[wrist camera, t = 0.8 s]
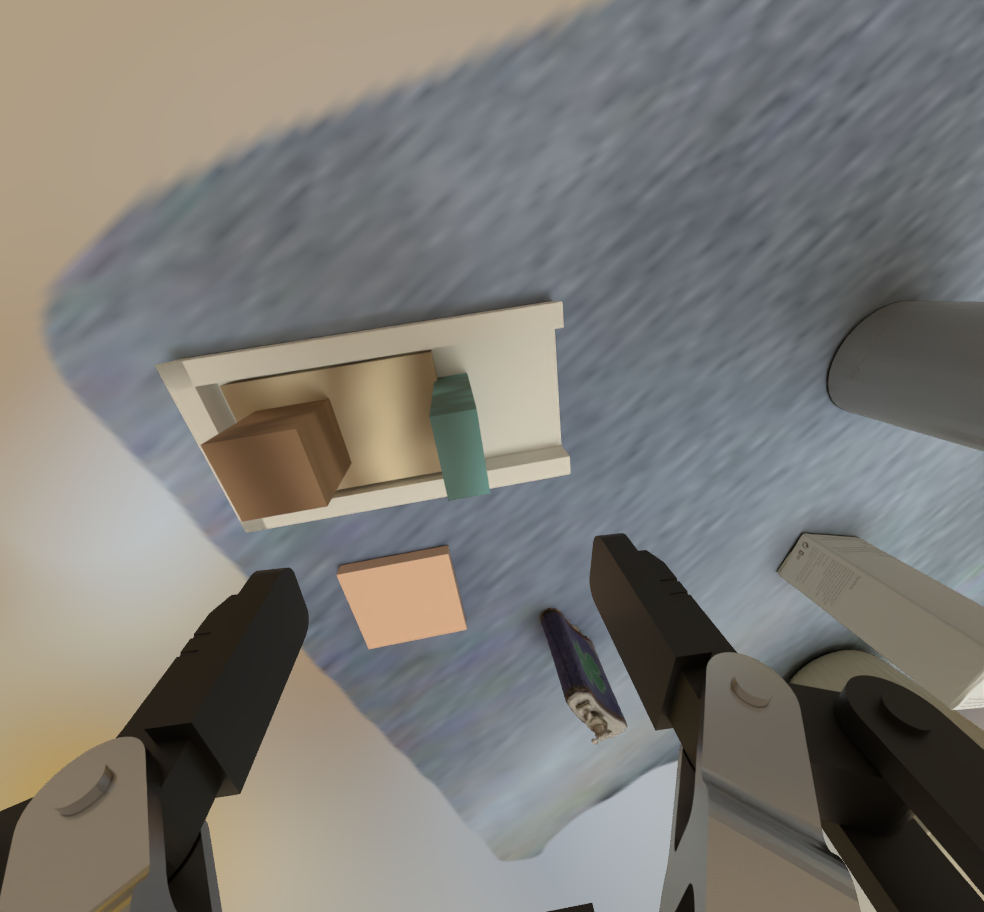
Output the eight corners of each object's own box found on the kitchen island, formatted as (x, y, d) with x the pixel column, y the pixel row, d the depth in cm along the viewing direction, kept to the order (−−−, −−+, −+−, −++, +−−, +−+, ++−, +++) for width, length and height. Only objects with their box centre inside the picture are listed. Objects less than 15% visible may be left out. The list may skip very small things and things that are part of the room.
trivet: (448, 545, 33) (448, 553, 32) (466, 619, 37) (466, 629, 36) (340, 565, 32) (336, 574, 31) (371, 638, 36) (368, 649, 35)
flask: (596, 644, 41) (642, 751, 32) (575, 656, 42) (614, 766, 32) (553, 603, 38) (591, 710, 28) (531, 617, 38) (560, 727, 28)
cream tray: (552, 300, 25) (562, 301, 23) (561, 461, 30) (570, 474, 28) (181, 358, 24) (154, 365, 21) (260, 514, 29) (246, 532, 27)
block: (329, 398, 24) (295, 428, 19) (351, 462, 26) (327, 506, 21) (255, 410, 24) (200, 445, 19) (284, 474, 26) (242, 521, 21)
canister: (809, 625, 45) (1080, 871, 26) (913, 634, 48) (1216, 855, 29) (738, 712, 51) (909, 958, 32) (833, 714, 55) (1037, 936, 36)
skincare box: (774, 572, 40) (942, 714, 26) (802, 528, 37) (1003, 660, 24) (834, 576, 41) (1021, 713, 28) (864, 534, 39) (1086, 661, 25)
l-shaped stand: (462, 344, 25) (470, 369, 17) (481, 457, 29) (495, 521, 21) (229, 381, 24) (119, 426, 16) (281, 493, 28) (213, 574, 20)
